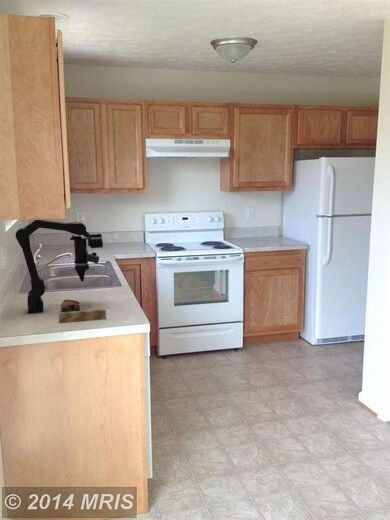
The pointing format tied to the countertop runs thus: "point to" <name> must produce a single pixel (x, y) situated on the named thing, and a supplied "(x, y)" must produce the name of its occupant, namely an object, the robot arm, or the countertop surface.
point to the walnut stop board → (82, 315)
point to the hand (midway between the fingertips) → (82, 281)
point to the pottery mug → (70, 306)
